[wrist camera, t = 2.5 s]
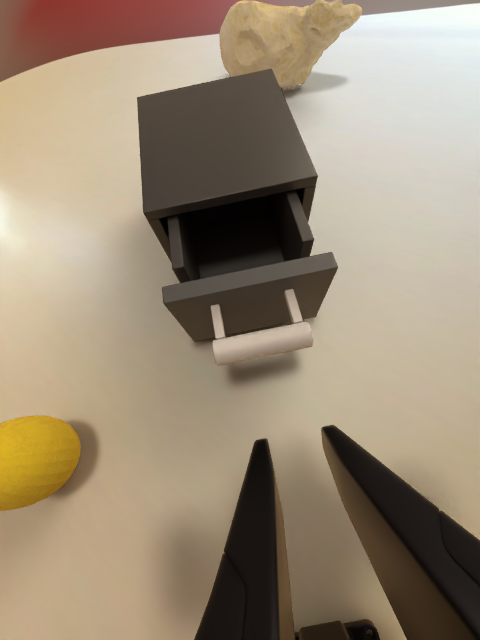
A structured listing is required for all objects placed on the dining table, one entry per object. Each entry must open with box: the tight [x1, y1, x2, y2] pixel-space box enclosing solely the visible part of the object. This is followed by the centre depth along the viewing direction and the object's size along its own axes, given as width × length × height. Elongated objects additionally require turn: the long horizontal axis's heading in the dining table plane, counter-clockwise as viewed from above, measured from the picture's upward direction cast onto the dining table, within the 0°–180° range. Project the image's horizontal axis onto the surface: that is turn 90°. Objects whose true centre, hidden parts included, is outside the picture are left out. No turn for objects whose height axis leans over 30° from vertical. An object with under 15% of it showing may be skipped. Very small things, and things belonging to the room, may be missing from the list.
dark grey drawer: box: [162, 190, 338, 366], centre depth 21 cm, size 16×11×8 cm, turn 10°
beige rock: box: [220, 0, 362, 90], centre depth 35 cm, size 15×7×15 cm
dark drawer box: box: [137, 69, 318, 263], centre depth 25 cm, size 14×12×10 cm
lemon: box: [0, 416, 81, 511], centre depth 18 cm, size 6×6×8 cm
